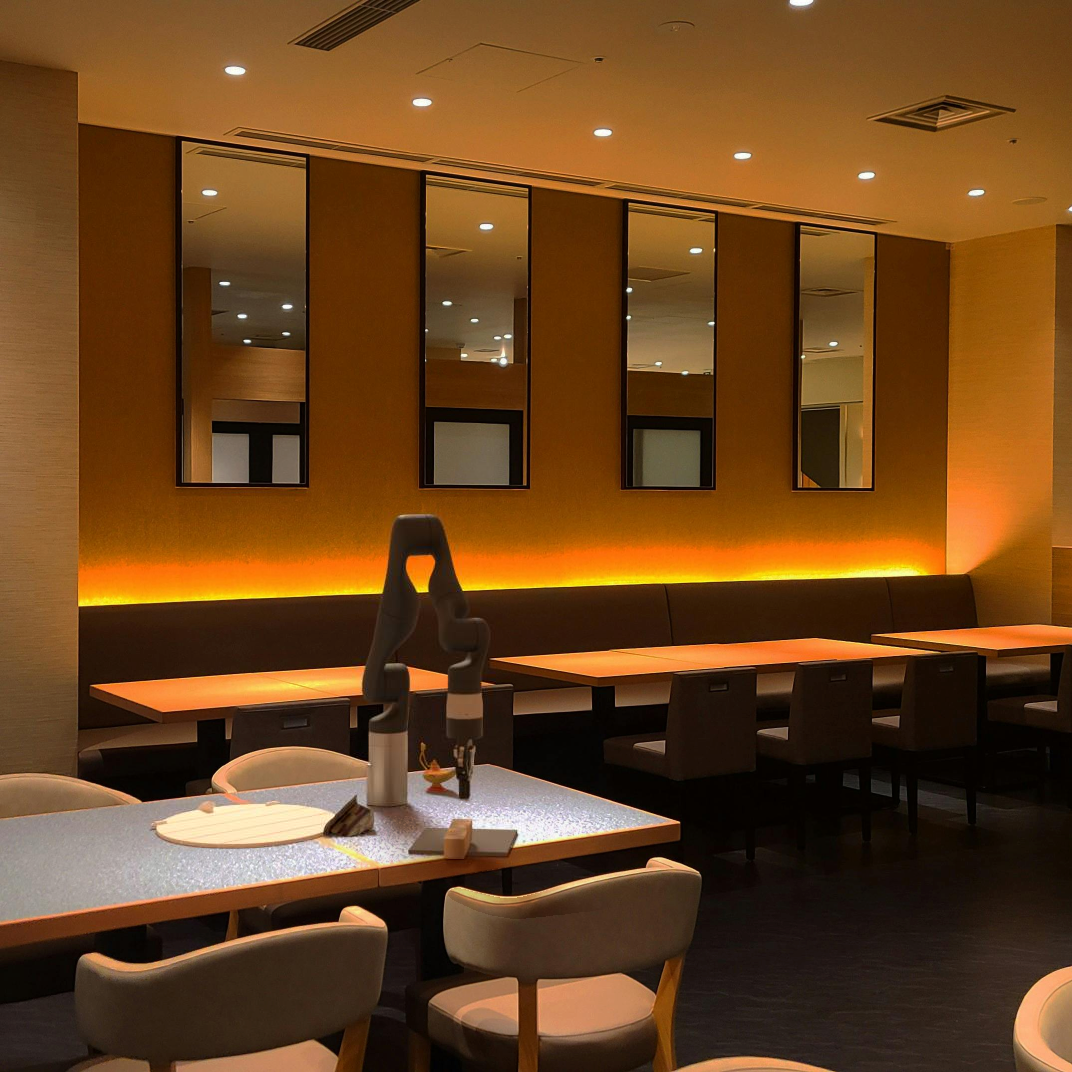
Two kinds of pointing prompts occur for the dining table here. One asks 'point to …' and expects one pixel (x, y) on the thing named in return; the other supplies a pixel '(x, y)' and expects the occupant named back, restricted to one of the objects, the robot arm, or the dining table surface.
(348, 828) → the chocolate cake
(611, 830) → the dining table surface
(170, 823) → the lazy susan
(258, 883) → the dining table surface
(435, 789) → the magic lamp
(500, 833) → the charcoal mat
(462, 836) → the oak pillar
